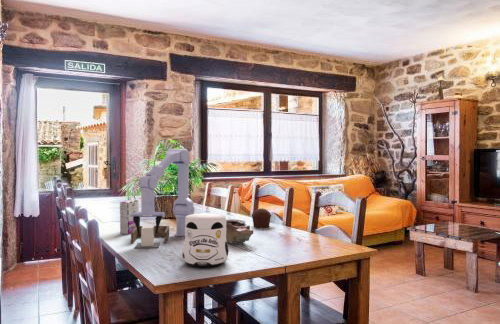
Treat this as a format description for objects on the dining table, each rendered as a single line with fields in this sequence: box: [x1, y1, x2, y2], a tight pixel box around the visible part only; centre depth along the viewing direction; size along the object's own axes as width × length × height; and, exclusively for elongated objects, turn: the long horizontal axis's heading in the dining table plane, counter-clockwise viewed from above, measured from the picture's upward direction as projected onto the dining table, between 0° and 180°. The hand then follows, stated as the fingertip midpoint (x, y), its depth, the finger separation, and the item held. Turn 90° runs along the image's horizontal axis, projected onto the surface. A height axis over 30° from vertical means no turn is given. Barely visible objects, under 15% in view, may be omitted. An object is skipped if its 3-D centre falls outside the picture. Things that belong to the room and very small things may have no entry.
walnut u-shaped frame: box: [130, 225, 170, 245], centre depth 190 cm, size 16×16×5 cm
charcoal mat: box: [134, 241, 161, 250], centre depth 177 cm, size 10×9×1 cm
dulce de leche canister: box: [182, 212, 229, 268], centre depth 151 cm, size 17×17×18 cm
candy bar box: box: [119, 199, 139, 235], centre depth 206 cm, size 11×5×16 cm, turn 168°
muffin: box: [251, 208, 272, 229], centre depth 225 cm, size 12×11×10 cm
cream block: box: [140, 225, 155, 246], centre depth 177 cm, size 5×5×8 cm
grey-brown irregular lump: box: [226, 219, 254, 244], centre depth 186 cm, size 13×20×10 cm, turn 26°
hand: (147, 233), depth 177 cm, fingers open, 7 cm apart
